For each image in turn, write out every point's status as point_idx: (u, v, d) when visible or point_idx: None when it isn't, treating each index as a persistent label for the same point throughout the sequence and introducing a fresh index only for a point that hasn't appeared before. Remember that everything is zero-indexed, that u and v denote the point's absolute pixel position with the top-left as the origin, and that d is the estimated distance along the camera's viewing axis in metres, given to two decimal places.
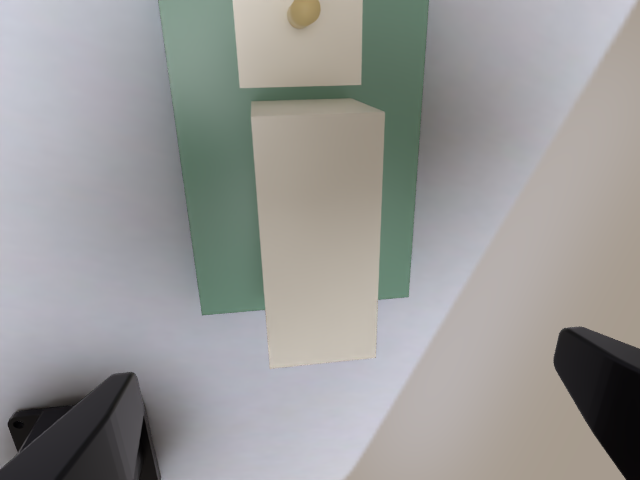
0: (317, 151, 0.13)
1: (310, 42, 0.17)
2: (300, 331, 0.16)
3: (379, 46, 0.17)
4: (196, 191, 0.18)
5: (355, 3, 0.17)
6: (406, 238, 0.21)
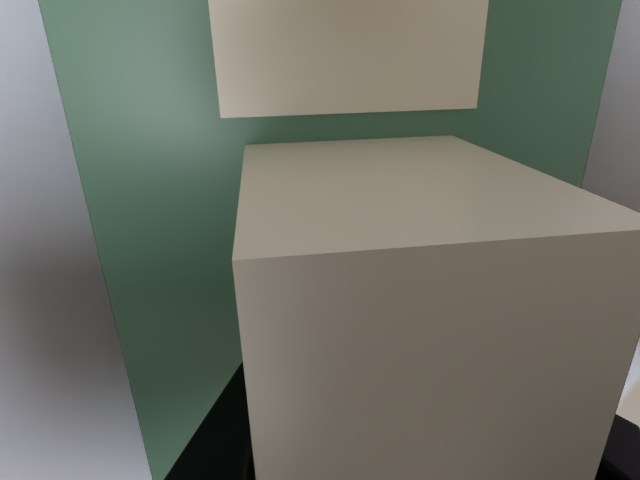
0: (447, 347, 0.04)
1: (376, 18, 0.08)
2: None
3: (521, 26, 0.08)
4: (138, 319, 0.09)
5: None
6: None
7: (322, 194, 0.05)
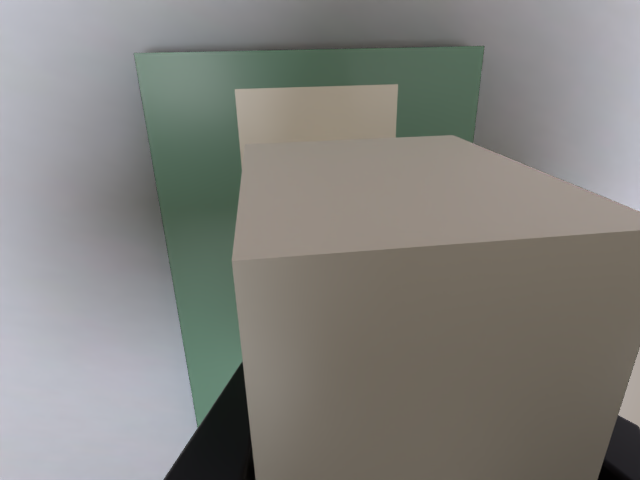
0: (448, 349, 0.04)
1: None
2: None
3: None
4: None
5: None
6: None
7: (322, 194, 0.05)
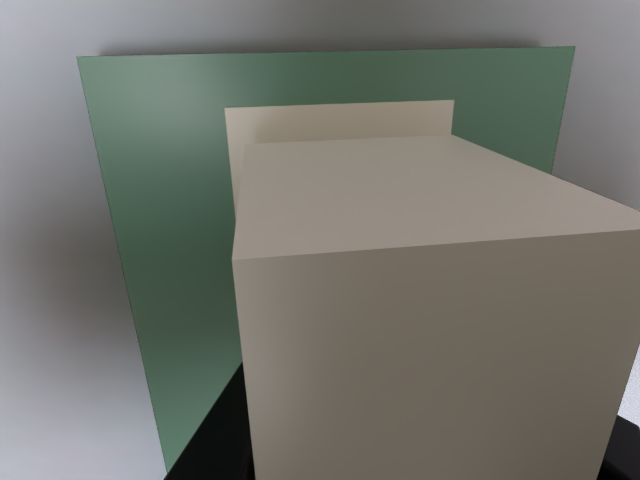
0: (448, 348, 0.04)
1: None
2: None
3: None
4: None
5: None
6: None
7: (322, 193, 0.05)
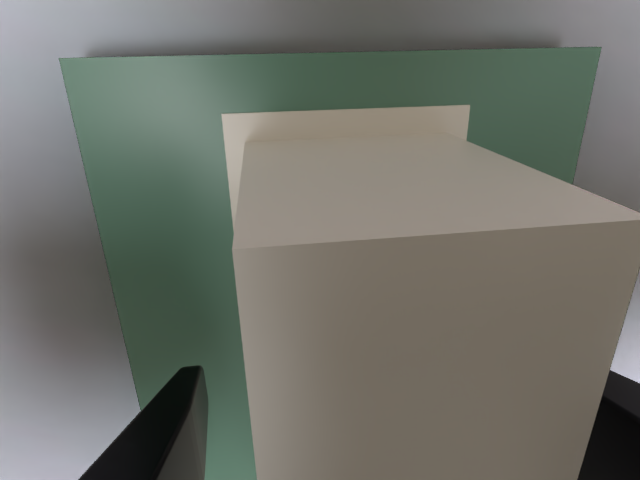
0: (437, 333, 0.04)
1: None
2: None
3: None
4: None
5: None
6: None
7: (319, 188, 0.05)
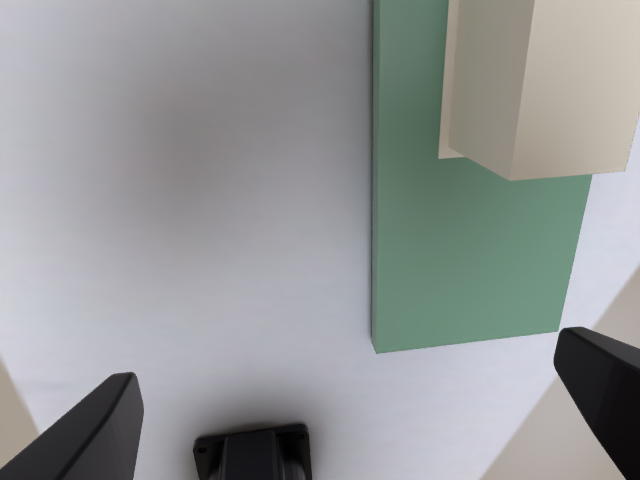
0: None
1: None
2: (552, 131, 0.14)
3: None
4: (387, 248, 0.20)
5: None
6: (563, 280, 0.22)
7: None
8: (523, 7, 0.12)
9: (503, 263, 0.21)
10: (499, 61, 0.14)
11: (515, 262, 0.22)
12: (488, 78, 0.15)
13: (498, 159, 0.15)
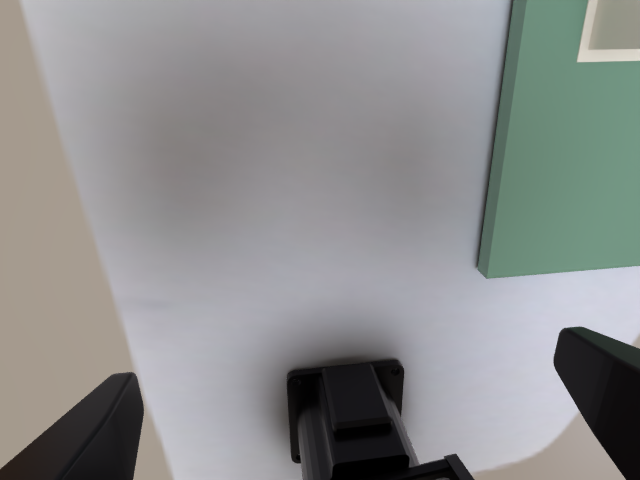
0: None
1: None
2: None
3: None
4: (513, 160, 0.20)
5: None
6: None
7: None
8: None
9: (623, 183, 0.21)
10: None
11: (635, 183, 0.21)
12: None
13: None
